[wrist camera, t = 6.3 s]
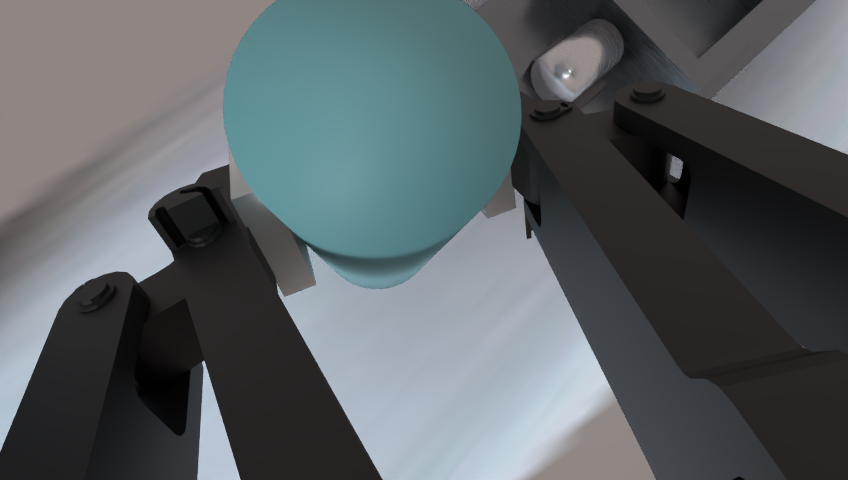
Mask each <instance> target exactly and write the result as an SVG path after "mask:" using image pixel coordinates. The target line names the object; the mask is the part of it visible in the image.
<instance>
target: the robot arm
mask: <svg viewBox="0 0 848 480" xmlns="http://www.w3.org/2000/svg"><path fill="white" fill-rule="evenodd" d="M519 92H520V98H521V116H522V119H521V130H520V137H519V142H518V146H517V150H516V154H515V157H514V159H513V162H512V165H511V167H510V170H509V172H508V174H507V175H506V177H505V179H504V181H503V183H502V184H501V186H500V188H499V189H498V190H497V192H496V193H495V194H494V196H493V197H492V198H491V200H490V201H489V202H488V203H487V204H486V205H485V206H484V207H483V208H482V209H481V211H482V212H483V213H484V214H485V216H486V217H487V218H490V217H493V216H495V215H498V214H501V213H503V212H506V211H508V210H511V209H514V208H516V204H515V193H514V188H515V189H516V190H517V191H518V192H519V193H520V194H521V195H522V196H523V198H524V211H525V224H526V235H527V239H529V238H532V237H531V231H532V230H533V231H534V233H535V235H536V237H537V239H538V241H539V243H540V245H541V247H542V249H543V251H544V253H545V256H546V258H547V260H548V262H549V264H550V266H551V268H552V270H553V272H554V274H555V276H556V278H557V280H558V282H559V284H560V286H561V288H562V290H563V292H564V294H565V296H566V298H567V300H568V302H569V304H570V306H571V308H572V310H573V312H574V314H575V316H576V318H577V320H578V322H579V324H580V326H581V328H582V330H583V332H584V334H585V336H586V338H587V340H588V342H589V344H590V346H591V348H592V350H593V352H594V354H595V356H596V358H597V360H598V362H599V365H600V367H601V369H602V371H603V373H604V375H605V377H606V379H607V381H608V383H609V385H610V387H611V389H612V391H613V393H614V395H615V397H616V399H617V401H618V403H619V405H620V407H621V409H622V411H623V413H624V415H625V417H626V419H627V421H628V423H629V425H630V427H631V429H632V431H633V433H634V435H635V437H636V439H637V441H638V443H639V445H640V447H641V449H642V451H643V453H644V455H645V457H646V459H647V461H648V463H649V465H650V467H651V469H652V471H653V474H654V476H655V478H656V480H848V155H847V154H845V153H842V152H840V151H837V150H835V149H832V148H830V147H827V146H825V145H822V144H820V143H817V142H814V141H812V140H809V139H807V138H804V137H802V136H799V135H797V134H794V133H792V132H789V131H787V130H784V129H782V128H779V127H777V126H774V125H772V124H769V123H767V122H764V121H762V120H759V119H757V118H754V117H752V116H749V115H747V114H744V113H742V112H739V111H737V110H734V109H732V108H729V107H727V106H724V105H722V104H719V103H717V102H714V101H712V100H709V99H707V98H704V97H702V96H699V95H697V94H694V93H692V92H689V91H687V90H684V89H682V88H679V87H677V86H674V85H671V84H667V83H663V82H654V81H644V82H643V81H639V82H636V83H634V84H630V85H626V86H624V87H622V88H621V89H619V90H618V91H617V92H616V93H615V94H614V105H613V109H612V110H606V111H601V112H595V113H589V114H584V113H583V112H582V111H581V110H580V109H579V108H578V107H577V106H576V105H574V104H573V103H571V102H568V101H564V100H544V101H538V102H537V101H535V100H534V99H532V98H531V97H529V96H528V95H526V94H525V93H523V92H522V91H519ZM672 155H673V156H675V157H677V158H679V159H680V160H681V161H683V168H682V174H681V177H680V179H677V178H675V177H673V176H672V175H670V168H671V161H672ZM148 219H149V221H150V222H151V224H152V225H153V226H154V228H155V229H156V231H157V232H158V233H159V235H160V236H161V238H162V239H163V240H164V242H165V243H166V245H167V246H168V247H169V249H170V250H171V252H172V255H173V258H174V261H173V262H172V263H171V264H170V265H168V266H167V267H165V268H164V269H162V270H161V271H159V272H157V273H156V274H154V275H152V276H150V277H148V278H147V279H145V280H143V281H141V282H140V283H138V282H137V281H136V280H135V279H134V278H133V276H131V275H130V274H129V273H127V272H113V273H109V274H104V275H102V276H100V277H97V278H95V279H91V280H89V281H87V282H86V283H84V285H83V284H82V285H81V286H80V287H78V288H77V289H76V290H75V291H74V292H73V293H72V294H71V295H70V296H69V297H68V298H67V299H66V300H65V301H64V303H63V304H62V306H61V308H60V309H59V311H58V313H57V316H56V318H55V320H54V323H53V325H52V328H51V330H50V333H49V335H48V337H47V340H46V342H45V345H44V347H43V349H42V352H41V354H40V357H39V359H38V362H37V364H36V366H35V369H34V371H33V374H32V376H31V379H30V381H29V383H28V386H27V388H26V391H25V393H24V396H23V398H22V400H21V403H20V405H19V408H18V410H17V413H16V415H15V417H14V420H13V422H12V425H11V427H10V430H9V432H8V434H7V437H6V439H5V442H4V444H3V447H2V449H1V451H0V480H197V474H198V456H199V439H200V421H201V403H202V386H203V365H202V362H203V361H204V360H205V363H206V367H207V370H208V373H209V377H210V380H211V383H212V386H213V390H214V393H215V396H216V400H217V403H218V406H219V409H220V413H221V416H222V419H223V423H224V426H225V429H226V433H227V436H228V439H229V442H230V446H231V449H232V452H233V456H234V459H235V462H236V466H237V469H238V472H239V475H240V479H241V480H382V478H381V476H380V474H379V473H378V471H377V469H376V467H375V466H374V464H373V462H372V460H371V458H370V457H369V455H368V453H367V451H366V450H365V448H364V446H363V444H362V442H361V441H360V439H359V437H358V435H357V434H356V432H355V430H354V428H353V426H352V425H351V423H350V421H349V419H348V418H347V416H346V414H345V412H344V410H343V409H342V407H341V405H340V403H339V402H338V400H337V398H336V396H335V394H334V393H333V391H332V389H331V387H330V386H329V384H328V382H327V380H326V378H325V377H324V375H323V373H322V371H321V370H320V368H319V366H318V364H317V362H316V361H315V359H314V357H313V355H312V354H311V352H310V350H309V348H308V346H307V345H306V343H305V341H304V339H303V338H302V336H301V334H300V332H299V330H298V329H297V327H296V325H295V323H294V322H293V320H292V318H291V316H290V314H289V313H288V311H287V309H286V307H285V306H284V304H283V302H282V300H281V298H280V297H279V295H278V290H277V284H278V286H279V288H280V290H281V291H282V293H283V295H284V297H285V296H288V295H290V294H293V293H296V292H298V291H301V290H303V289H306V288H309V287H311V286H314V285H316V281H315V277H314V273H313V269H312V265H311V262H310V258H309V254H308V250H307V246H306V243H304V242H303V241H302V240H301V239H300V238H299V237H298V236H297V235H296V234H295V233H294V232H293V231H292V230H290V229H289V228H288V227H287V226H286V225H285V224H284V223H283V222H282V221H281V220H280V219H279V218H277V217H276V216H275V215H274V214H273V213H272V212H271V211H270V210H269V209H268V208H267V207H266V206H265V205H264V204H263V203H262V202H261V201H260V200H259V199H258V198H257V196H256V195H255V194H254V192H253V191H252V190H251V188H250V187H249V186H248V185H247V183H246V182H245V180H244V178H243V176H242V175H241V173H240V171H239V169H238V167H237V166H236V163H235V161H234V158H233V156H232V153H231V150H230V148H229V165H226V166H223V167H220V168H217V169H214V170H211V171H208V172H205V173H202V174H201V176H200V177H199V179H198V180H197V181H196V183H195V184H190V185H187V186H185V187H182V188H179V189H177V190H175V191H173V192H171V193H169V194H167V195H166V196H164V197H163V198H162V199H160V200H159V201H158V202H157V203H155V205H154V206H153V207H152V208H151V210H150V211H149V215H148ZM276 282H277V283H276ZM798 343H799V344H798ZM802 346H803V347H804V348H803V347H802Z"/></svg>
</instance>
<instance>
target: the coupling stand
mask: <svg viewBox="0 0 848 480" xmlns="http://www.w3.org/2000/svg"><path fill="white" fill-rule="evenodd" d="M814 1H815V0H489V1H488V2H486V3H485V4H484V5H483V6H481V7H480V8H479V9H478V10H476V11H475V12H476V13H477V14H478V15H479V16H480V17H481V18H483V19H484V21H485V22H486V23H487V24H488V26H489V27H490V28H491V29H492V30H493V32H494V33H495V34H496V36H497V37H498V39H499V41H500V42H501V44H502V45H503V47H504V49H505V51H506V53H507V55H508V57H509V59H510V61H511V63H512V66H513V69H514V72H515V75H516V78H517V82H518V87H519V91H522V92H523V93H525V94H526V95H528V96H529V97H531V98H532V99H534V100H535V101H537V102H538V101H544V100H564V101H568V102H571V103H573V104H574V105H576V106H577V107H578V108H579V109H580V110H581V111H582V112H583V113H584V114H589V113H595V112H601V111H606V110H612V109H613V105H614V94H615V93H616V92H617V91H618V90H619V89H621V88H622V87H624V86H626V85H630V84H634V83H636V82H639V81H643V82H644V81H654V82H663V83H667V84H671V85H674V86H677V87H679V88H682V89H684V90H687V91H689V92H692V93H694V94H697V95H699V96H702V97H704V98H707V99H711V98H712V97H713V96H714V95H715V94H716V93H717V92H718V91H719V90H720V89H721V88H722V87H723V86H724V85H726V84H727V83H728V82H729V81H730V80H731V79H732V78H733V77H734V76H735V75H736V74H737V73H738V72H739V71H741V70H742V69H743V68H744V67H745V66H746V65H747V64H748V63H749V62H750V61H751V60H752V59H753V58H754V57H756V56H757V55H758V54H759V53H760V52H761V51H762V50H763V49H764V48H765V47H766V46H767V45H768V44H769V43H770V42H772V41H773V40H774V39H775V38H776V37H777V36H778V35H779V34H780V33H781V32H782V31H783V30H784V29H785V28H787V27H788V26H789V25H790V24H791V23H792V22H793V21H794V20H795V19H796V18H797V17H798V16H799V15H800V14H802V13H803V12H804V11H805V10H806V9H807V8H808V7H809V6H810V5H811V4H812V3H813V2H814Z"/></svg>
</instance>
